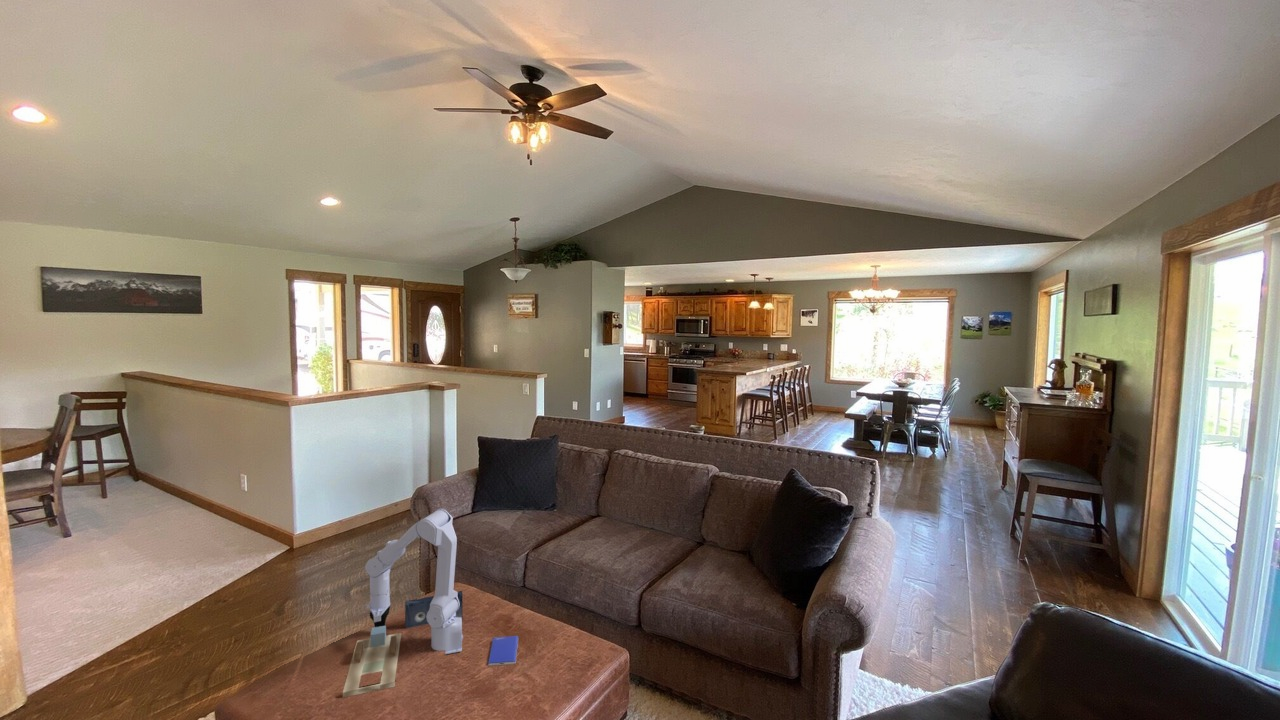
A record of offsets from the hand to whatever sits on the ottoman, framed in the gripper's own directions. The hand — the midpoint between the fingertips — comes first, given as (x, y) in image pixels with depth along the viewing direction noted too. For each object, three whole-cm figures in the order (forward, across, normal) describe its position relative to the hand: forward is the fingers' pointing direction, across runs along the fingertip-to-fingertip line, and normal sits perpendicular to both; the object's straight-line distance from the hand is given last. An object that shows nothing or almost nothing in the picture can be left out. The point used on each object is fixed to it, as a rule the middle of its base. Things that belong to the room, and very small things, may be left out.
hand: (380, 630), depth 167 cm
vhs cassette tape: (+3, -2, +16) cm, 17 cm away
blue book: (+3, +20, +38) cm, 43 cm away
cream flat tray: (+2, +14, 0) cm, 14 cm away
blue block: (+1, +5, 0) cm, 5 cm away
